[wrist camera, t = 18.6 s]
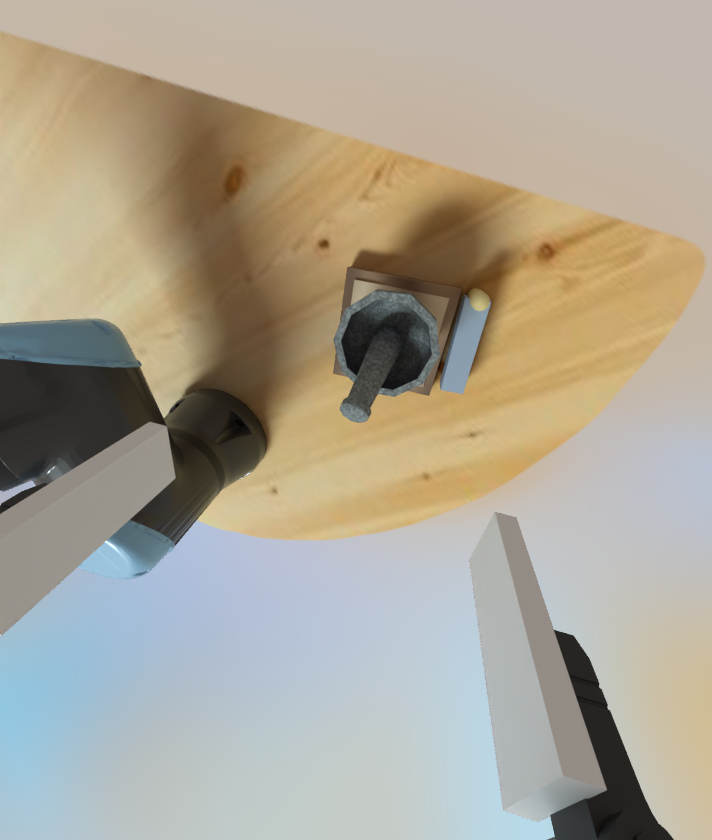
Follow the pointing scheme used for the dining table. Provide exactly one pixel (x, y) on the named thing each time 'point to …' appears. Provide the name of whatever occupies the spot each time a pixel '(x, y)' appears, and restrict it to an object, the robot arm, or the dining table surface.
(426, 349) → the mortar and pestle
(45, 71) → the dining table surface
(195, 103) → the dining table surface
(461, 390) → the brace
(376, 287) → the stand
